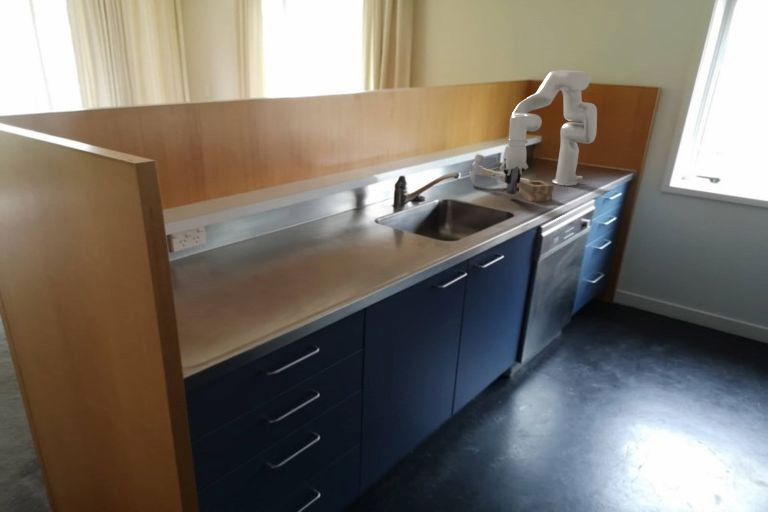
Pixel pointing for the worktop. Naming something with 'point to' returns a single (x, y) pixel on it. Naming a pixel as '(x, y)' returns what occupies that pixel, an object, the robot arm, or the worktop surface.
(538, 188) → the socket block
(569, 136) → the robot arm
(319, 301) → the worktop surface
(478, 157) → the hammer
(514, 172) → the dark grey capped cylinder
